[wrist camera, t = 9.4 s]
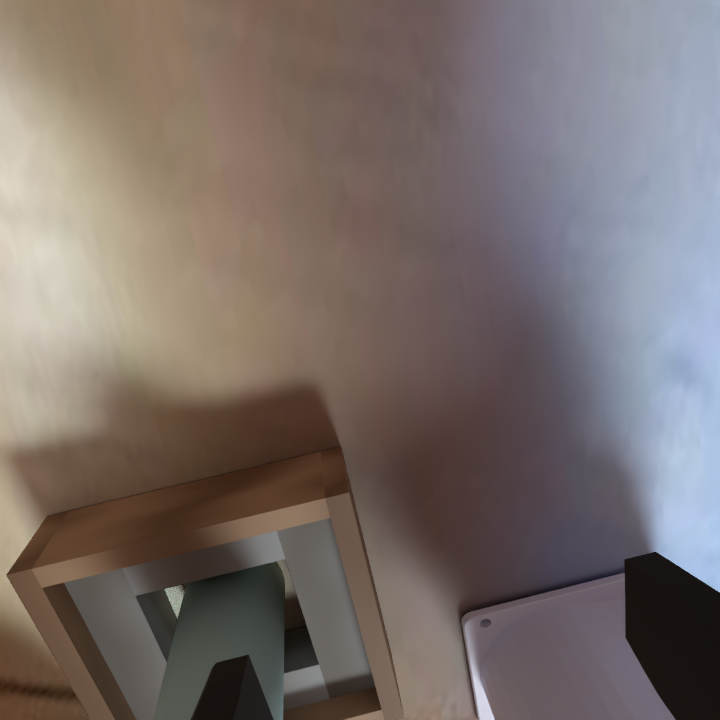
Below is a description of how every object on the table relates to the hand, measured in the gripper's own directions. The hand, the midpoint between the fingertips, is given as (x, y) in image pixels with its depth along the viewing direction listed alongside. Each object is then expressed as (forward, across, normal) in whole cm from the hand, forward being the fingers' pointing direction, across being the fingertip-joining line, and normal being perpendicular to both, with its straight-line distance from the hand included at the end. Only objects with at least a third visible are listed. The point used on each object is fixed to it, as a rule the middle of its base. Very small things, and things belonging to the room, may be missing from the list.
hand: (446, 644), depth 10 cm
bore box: (+10, +7, +7) cm, 14 cm away
